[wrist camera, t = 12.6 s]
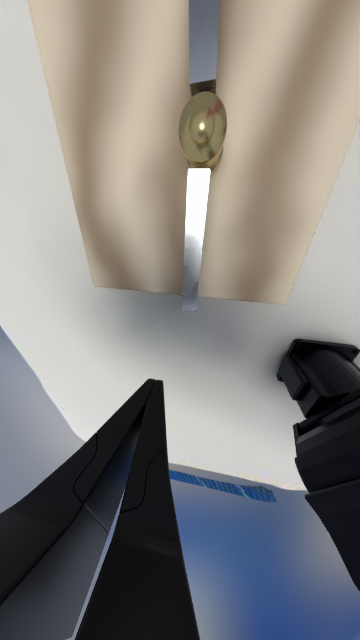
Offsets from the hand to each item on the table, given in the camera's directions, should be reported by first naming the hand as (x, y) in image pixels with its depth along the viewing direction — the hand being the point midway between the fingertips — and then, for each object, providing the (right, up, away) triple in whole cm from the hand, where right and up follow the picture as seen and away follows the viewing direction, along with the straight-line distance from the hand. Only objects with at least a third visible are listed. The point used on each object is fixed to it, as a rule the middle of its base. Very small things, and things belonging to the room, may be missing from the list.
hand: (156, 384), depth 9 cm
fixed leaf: (+3, +11, +5) cm, 13 cm away
